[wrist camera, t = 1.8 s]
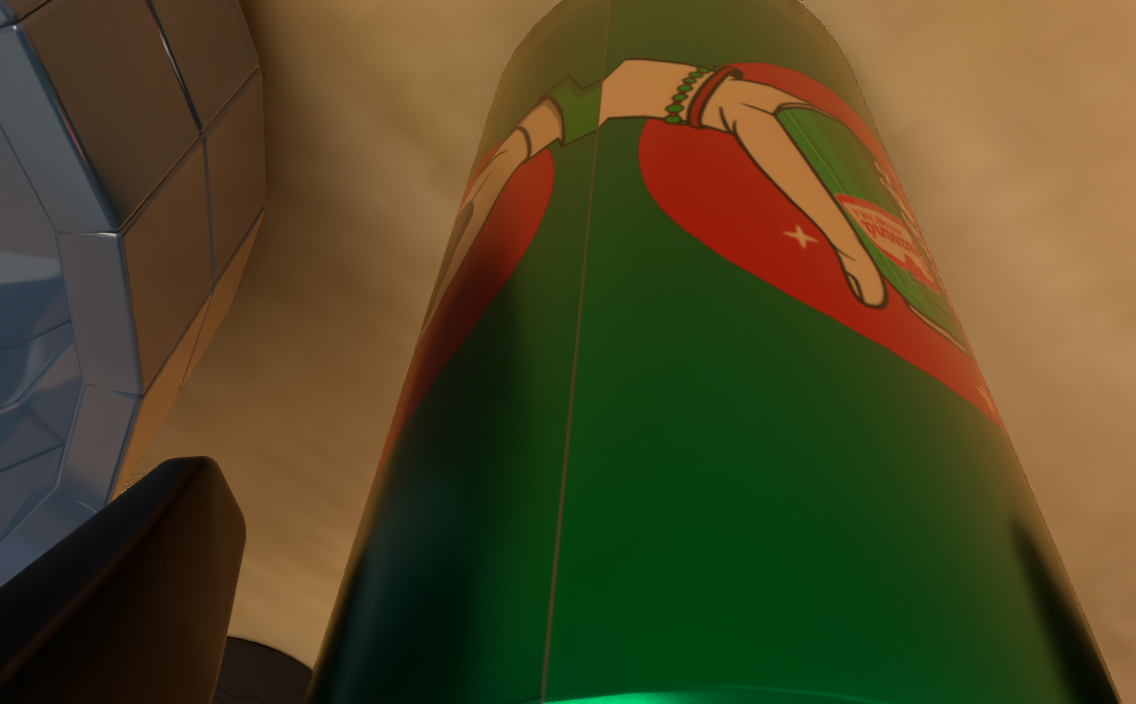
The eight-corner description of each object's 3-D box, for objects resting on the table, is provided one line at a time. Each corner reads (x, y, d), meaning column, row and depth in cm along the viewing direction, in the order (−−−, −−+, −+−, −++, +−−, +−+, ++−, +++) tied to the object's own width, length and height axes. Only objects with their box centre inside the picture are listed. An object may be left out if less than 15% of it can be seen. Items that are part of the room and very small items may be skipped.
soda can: (564, 319, 16) (442, 1349, 7) (435, 22, 14) (-84, 1043, 4) (884, 235, 15) (1298, 1360, 5) (812, -111, 12) (1389, 914, 3)
